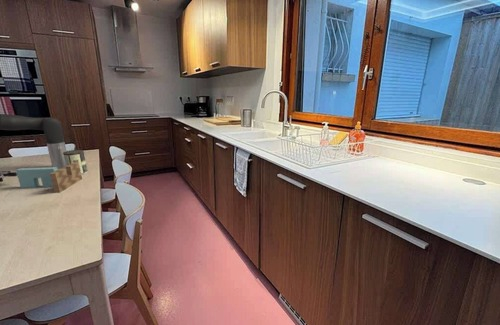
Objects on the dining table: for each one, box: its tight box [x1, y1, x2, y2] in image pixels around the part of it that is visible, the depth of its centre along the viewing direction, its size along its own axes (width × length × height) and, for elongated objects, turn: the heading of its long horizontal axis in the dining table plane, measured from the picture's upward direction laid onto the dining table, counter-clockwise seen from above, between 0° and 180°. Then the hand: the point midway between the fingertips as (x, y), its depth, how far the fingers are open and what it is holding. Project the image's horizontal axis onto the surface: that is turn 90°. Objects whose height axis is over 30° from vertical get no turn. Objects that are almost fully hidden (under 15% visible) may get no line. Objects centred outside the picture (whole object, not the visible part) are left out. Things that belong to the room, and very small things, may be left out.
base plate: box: [50, 162, 83, 193], centre depth 128 cm, size 20×2×10 cm, turn 6°
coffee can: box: [63, 149, 88, 176], centre depth 147 cm, size 10×10×14 cm
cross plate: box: [15, 166, 59, 189], centre depth 127 cm, size 3×18×10 cm, turn 96°
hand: (9, 176), depth 125 cm, fingers open, 8 cm apart
